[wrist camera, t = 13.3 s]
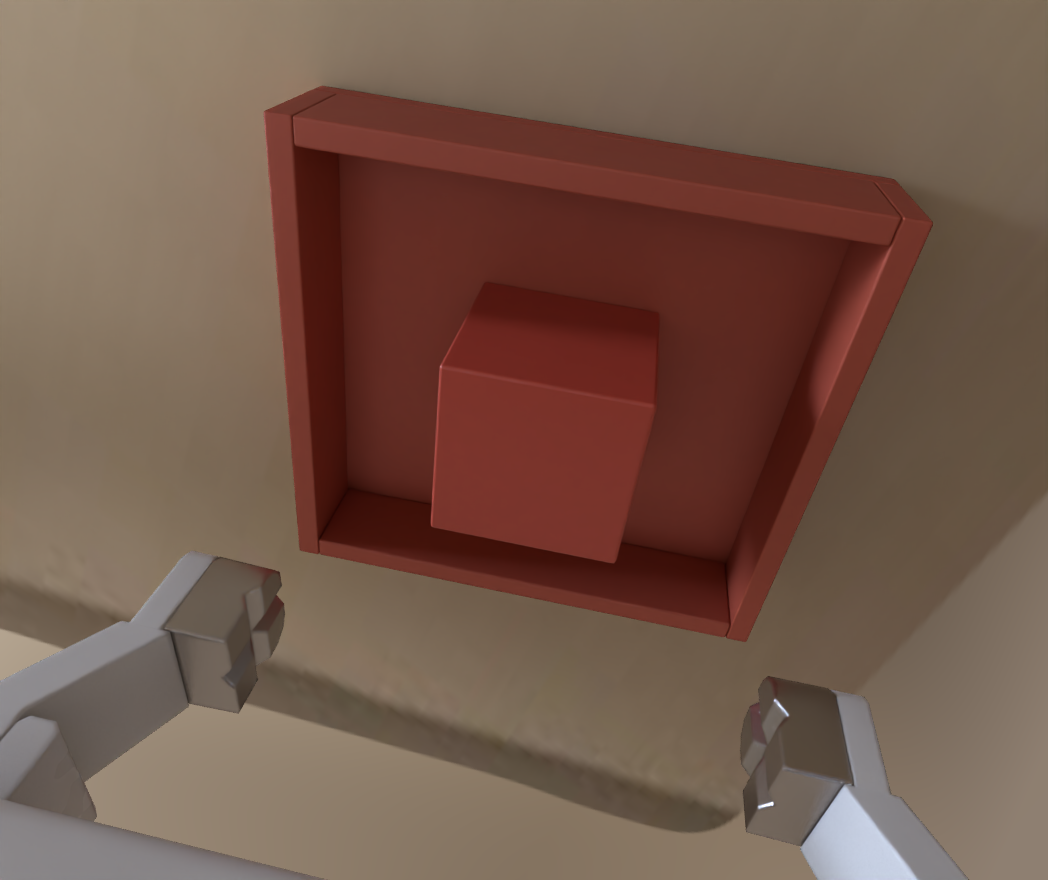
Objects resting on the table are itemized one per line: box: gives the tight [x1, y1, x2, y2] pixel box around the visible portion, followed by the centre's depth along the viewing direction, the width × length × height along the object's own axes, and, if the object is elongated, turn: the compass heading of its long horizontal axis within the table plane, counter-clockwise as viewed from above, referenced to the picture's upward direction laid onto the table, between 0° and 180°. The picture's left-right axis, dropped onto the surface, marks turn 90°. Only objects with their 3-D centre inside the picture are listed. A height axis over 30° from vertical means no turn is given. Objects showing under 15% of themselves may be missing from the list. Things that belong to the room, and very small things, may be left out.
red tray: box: [264, 86, 933, 642], centre depth 19 cm, size 13×12×3 cm
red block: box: [431, 282, 660, 563], centre depth 18 cm, size 4×4×4 cm
